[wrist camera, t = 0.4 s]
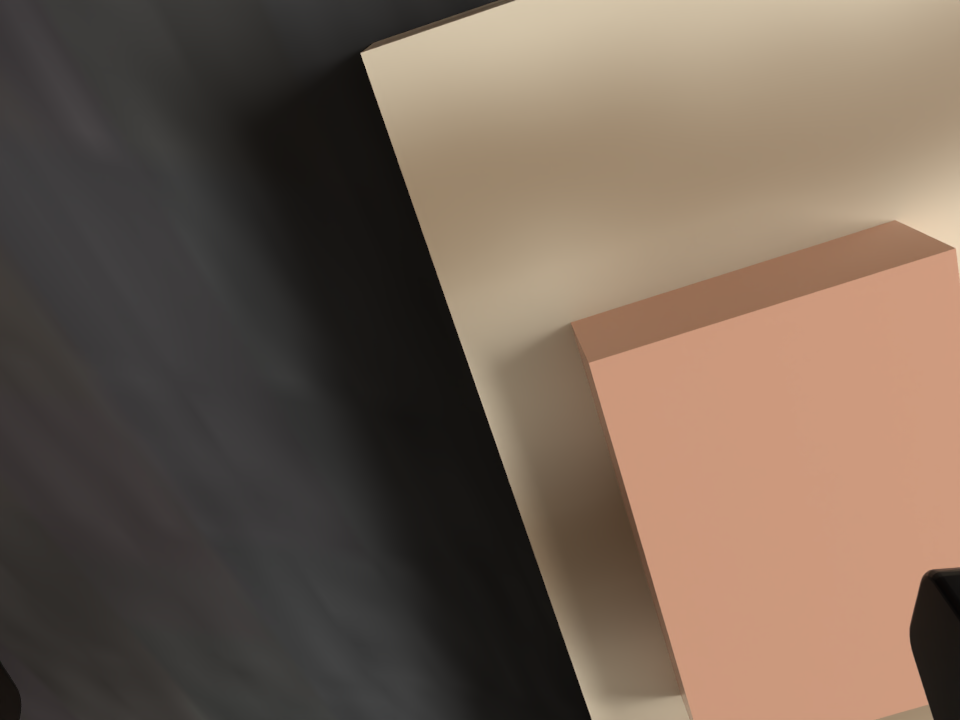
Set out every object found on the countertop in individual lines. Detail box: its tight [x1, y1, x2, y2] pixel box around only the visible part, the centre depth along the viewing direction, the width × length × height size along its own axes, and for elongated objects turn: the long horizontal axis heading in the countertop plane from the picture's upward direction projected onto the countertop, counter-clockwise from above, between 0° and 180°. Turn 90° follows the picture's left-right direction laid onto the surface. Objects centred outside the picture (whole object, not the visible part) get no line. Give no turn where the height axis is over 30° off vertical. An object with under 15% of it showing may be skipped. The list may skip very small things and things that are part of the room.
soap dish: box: [361, 0, 960, 720], centre depth 20 cm, size 20×12×4 cm, turn 17°
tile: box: [571, 220, 960, 720], centre depth 17 cm, size 9×6×2 cm, turn 17°
